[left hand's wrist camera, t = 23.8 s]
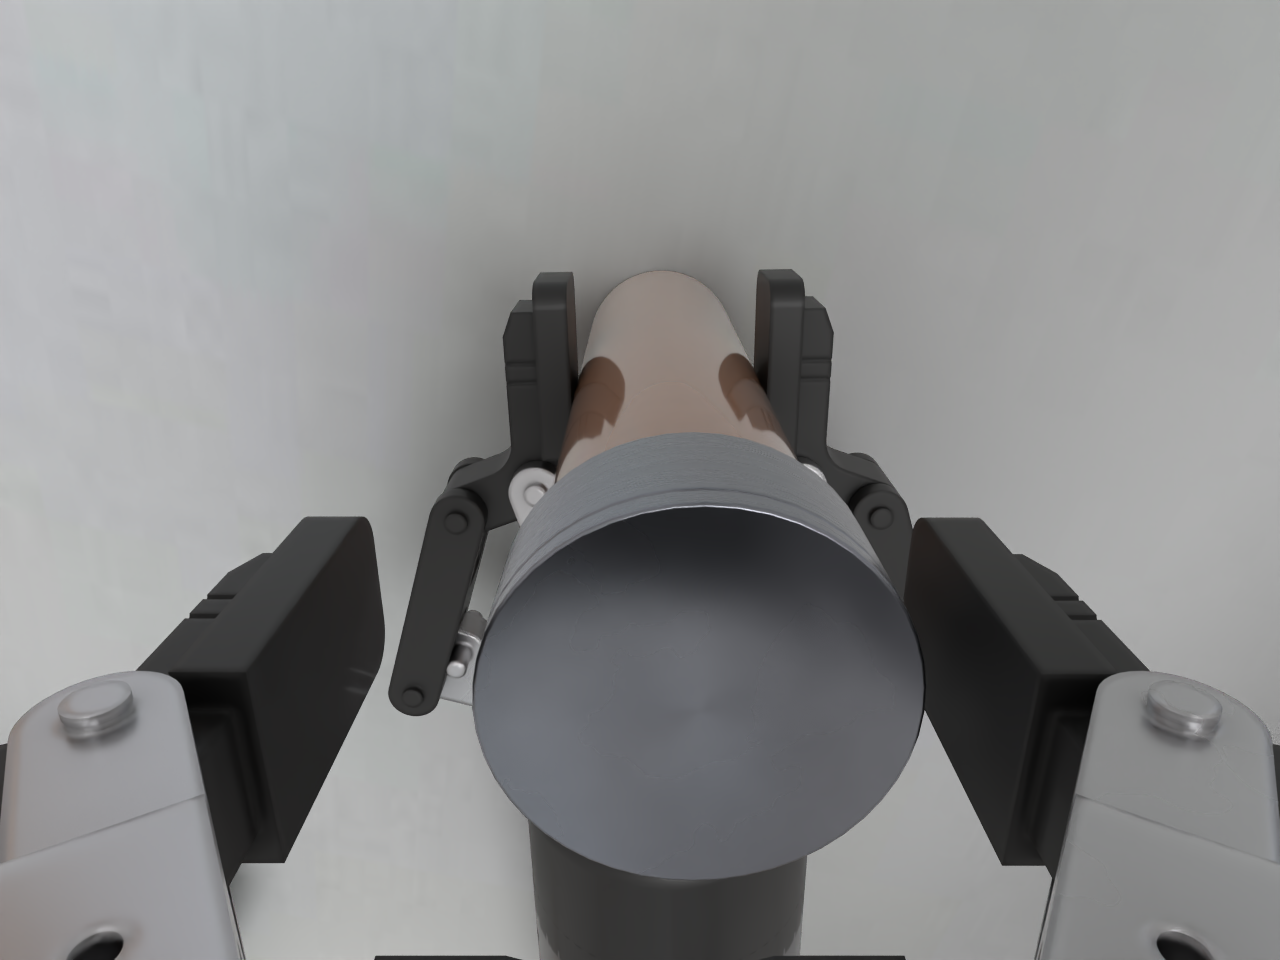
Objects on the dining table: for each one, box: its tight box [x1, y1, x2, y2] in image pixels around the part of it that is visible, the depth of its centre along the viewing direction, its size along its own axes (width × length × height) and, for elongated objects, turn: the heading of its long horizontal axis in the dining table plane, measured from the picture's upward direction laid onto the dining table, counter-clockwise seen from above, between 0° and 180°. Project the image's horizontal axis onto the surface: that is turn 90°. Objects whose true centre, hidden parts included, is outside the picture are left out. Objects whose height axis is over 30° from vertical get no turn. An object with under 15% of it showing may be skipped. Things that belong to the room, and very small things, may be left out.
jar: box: [552, 271, 798, 486], centre depth 17 cm, size 4×4×16 cm
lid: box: [472, 432, 926, 881], centre depth 10 cm, size 5×5×2 cm
